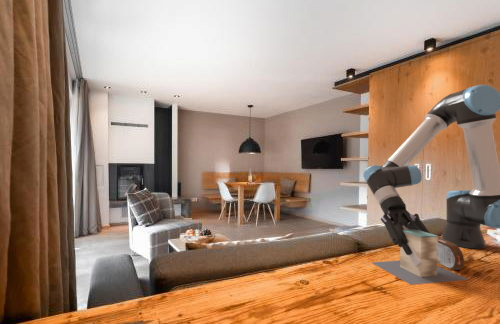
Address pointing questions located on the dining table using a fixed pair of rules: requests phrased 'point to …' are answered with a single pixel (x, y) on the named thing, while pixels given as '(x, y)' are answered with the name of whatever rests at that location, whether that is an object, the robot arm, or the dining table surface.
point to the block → (421, 253)
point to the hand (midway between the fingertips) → (427, 263)
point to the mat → (413, 279)
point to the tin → (450, 255)
